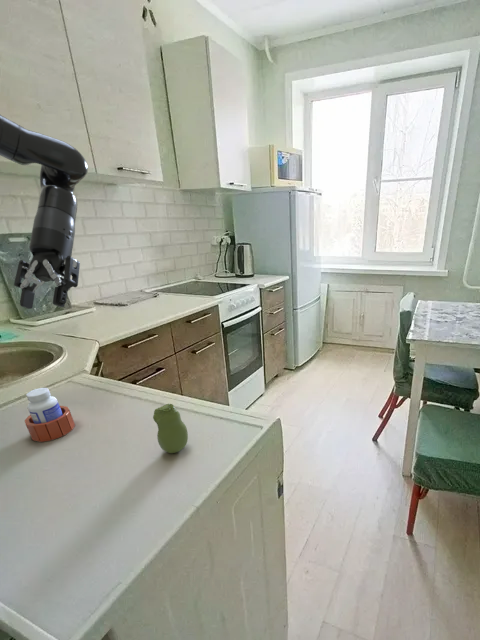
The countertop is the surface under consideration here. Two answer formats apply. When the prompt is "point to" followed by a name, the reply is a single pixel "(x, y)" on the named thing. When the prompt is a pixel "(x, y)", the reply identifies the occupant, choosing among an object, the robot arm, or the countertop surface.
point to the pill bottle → (43, 406)
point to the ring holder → (51, 427)
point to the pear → (170, 429)
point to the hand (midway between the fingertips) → (42, 306)
